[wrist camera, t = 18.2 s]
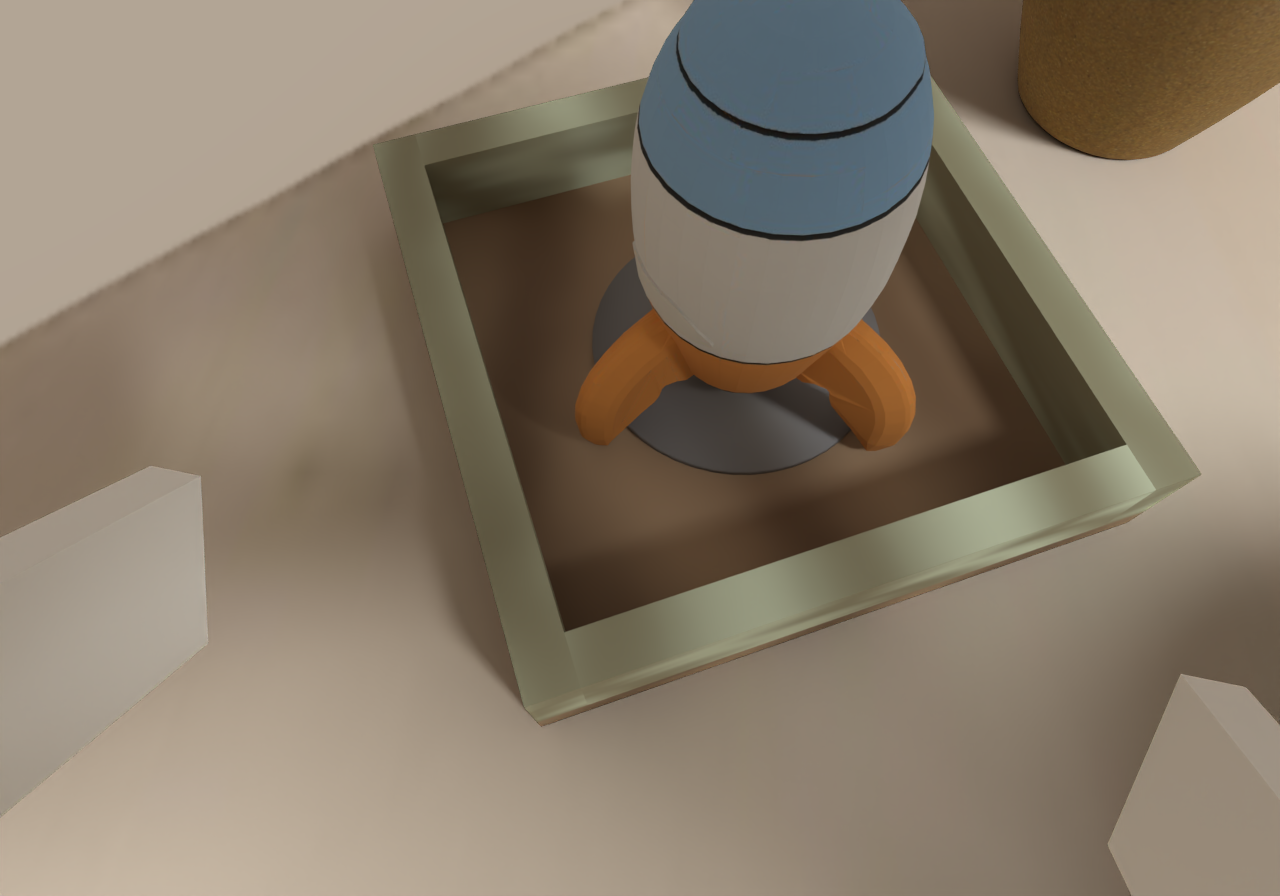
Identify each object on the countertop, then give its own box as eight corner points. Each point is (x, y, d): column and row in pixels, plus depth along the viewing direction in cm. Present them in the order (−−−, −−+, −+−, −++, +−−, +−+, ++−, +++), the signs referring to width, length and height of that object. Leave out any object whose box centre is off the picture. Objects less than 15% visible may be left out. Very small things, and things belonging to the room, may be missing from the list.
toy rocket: (584, 516, 27) (427, 91, 15) (616, 286, 33) (523, -149, 21) (913, 517, 25) (1033, 41, 13) (883, 275, 32) (948, -203, 19)
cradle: (866, 102, 35) (891, 18, 32) (1127, 522, 27) (1201, 474, 24) (402, 221, 33) (372, 144, 29) (541, 726, 25) (524, 707, 21)
